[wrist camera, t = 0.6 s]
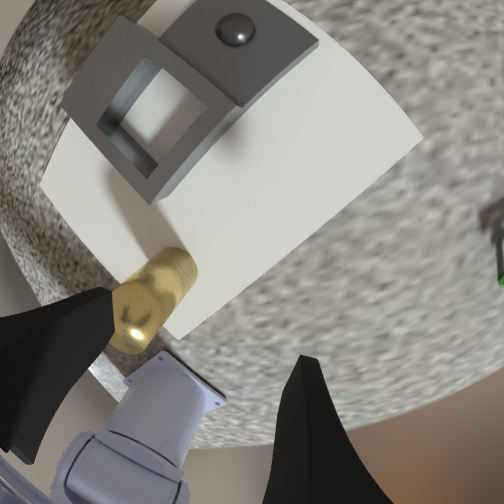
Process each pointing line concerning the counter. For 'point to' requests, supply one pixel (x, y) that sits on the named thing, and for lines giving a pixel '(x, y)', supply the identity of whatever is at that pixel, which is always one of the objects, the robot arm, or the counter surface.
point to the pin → (150, 298)
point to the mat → (233, 171)
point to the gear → (501, 282)
